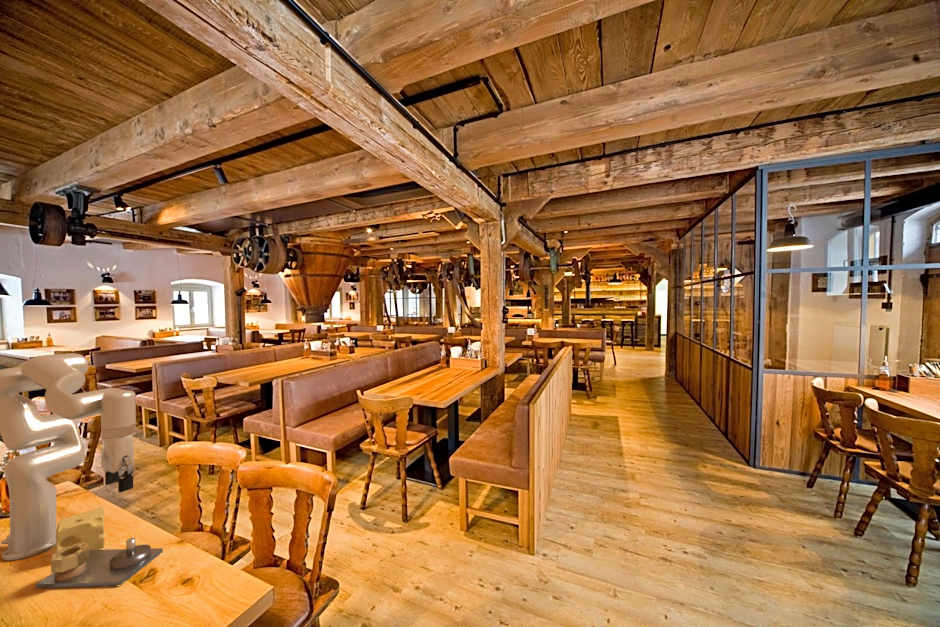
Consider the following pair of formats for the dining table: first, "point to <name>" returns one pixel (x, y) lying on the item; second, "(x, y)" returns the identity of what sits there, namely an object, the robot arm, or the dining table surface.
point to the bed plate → (99, 571)
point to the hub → (130, 555)
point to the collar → (70, 557)
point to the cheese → (81, 530)
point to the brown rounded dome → (70, 573)
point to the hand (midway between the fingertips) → (119, 486)
